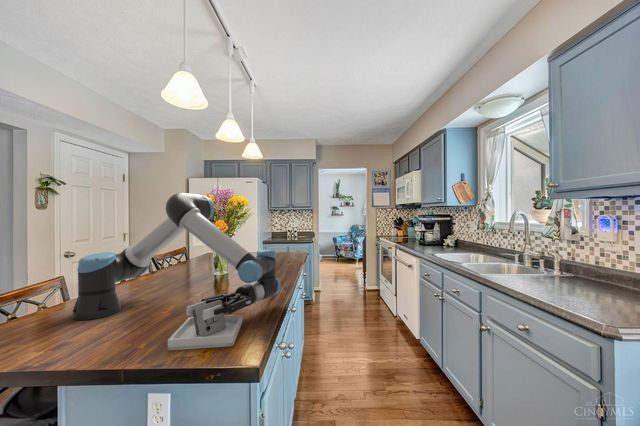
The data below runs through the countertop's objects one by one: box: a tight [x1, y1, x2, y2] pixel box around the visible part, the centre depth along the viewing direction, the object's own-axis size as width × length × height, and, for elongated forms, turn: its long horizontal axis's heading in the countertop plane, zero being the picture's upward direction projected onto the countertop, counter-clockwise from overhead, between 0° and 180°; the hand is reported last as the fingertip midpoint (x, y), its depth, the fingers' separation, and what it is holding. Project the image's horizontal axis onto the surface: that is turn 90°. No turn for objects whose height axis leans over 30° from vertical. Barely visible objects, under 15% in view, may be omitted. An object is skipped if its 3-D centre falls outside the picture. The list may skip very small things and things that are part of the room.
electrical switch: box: [192, 300, 226, 337], centre depth 89 cm, size 9×5×9 cm, turn 147°
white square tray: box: [167, 313, 243, 352], centre depth 89 cm, size 18×18×3 cm
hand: (195, 313), depth 85 cm, fingers open, 7 cm apart
